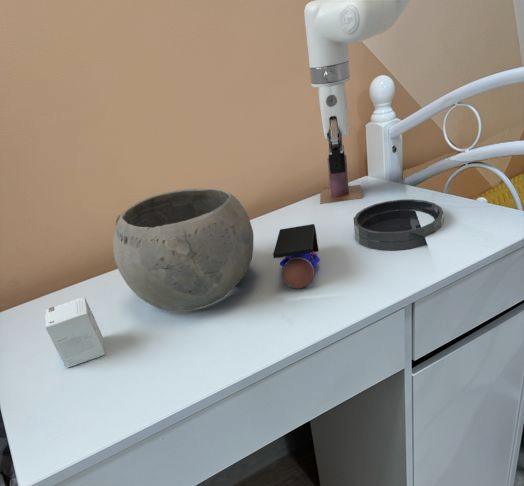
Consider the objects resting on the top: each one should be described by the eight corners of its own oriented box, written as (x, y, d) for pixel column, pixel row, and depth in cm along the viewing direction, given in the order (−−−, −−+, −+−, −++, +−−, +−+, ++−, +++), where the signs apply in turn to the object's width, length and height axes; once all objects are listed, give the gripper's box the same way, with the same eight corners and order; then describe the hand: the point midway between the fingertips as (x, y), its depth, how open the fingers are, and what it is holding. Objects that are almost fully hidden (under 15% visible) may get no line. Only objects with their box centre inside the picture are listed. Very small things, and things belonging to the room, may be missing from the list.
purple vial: (348, 189, 111) (344, 138, 105) (349, 195, 108) (345, 143, 102) (331, 191, 112) (326, 141, 106) (330, 198, 109) (325, 146, 103)
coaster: (360, 186, 113) (360, 184, 113) (362, 200, 106) (361, 198, 106) (321, 191, 115) (320, 189, 115) (320, 205, 108) (319, 203, 107)
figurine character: (285, 263, 91) (278, 295, 78) (278, 222, 87) (270, 249, 74) (321, 258, 90) (320, 291, 77) (316, 217, 86) (314, 243, 73)
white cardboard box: (106, 355, 73) (87, 313, 69) (65, 369, 72) (43, 327, 68) (102, 336, 78) (85, 295, 74) (64, 349, 77) (44, 308, 73)
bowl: (288, 284, 81) (273, 194, 72) (160, 342, 73) (127, 249, 65) (224, 247, 98) (206, 171, 90) (116, 290, 91) (85, 212, 82)
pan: (434, 212, 94) (435, 194, 92) (449, 246, 82) (450, 226, 80) (353, 222, 97) (352, 205, 95) (356, 257, 85) (355, 238, 83)
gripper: (350, 77, 89) (356, 179, 100) (348, 65, 103) (354, 155, 113) (309, 85, 91) (319, 184, 101) (312, 72, 104) (321, 160, 115)
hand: (337, 168), depth 107 cm, fingers open, 4 cm apart
